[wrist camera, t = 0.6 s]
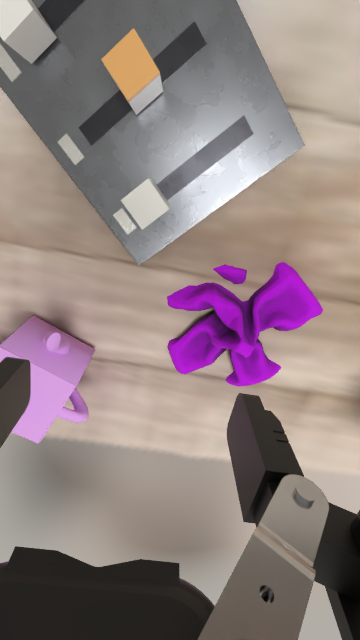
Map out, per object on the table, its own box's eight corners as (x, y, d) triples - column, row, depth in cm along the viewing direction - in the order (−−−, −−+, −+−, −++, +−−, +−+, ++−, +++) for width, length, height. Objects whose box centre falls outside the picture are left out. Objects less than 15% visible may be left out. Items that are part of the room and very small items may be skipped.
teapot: (35, 272, 36) (-15, 302, 27) (136, 331, 39) (123, 377, 30) (-18, 377, 42) (-73, 432, 33) (74, 421, 45) (47, 483, 36)
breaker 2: (152, 178, 30) (148, 178, 25) (170, 205, 31) (169, 209, 26) (128, 198, 30) (120, 200, 26) (147, 223, 31) (142, 229, 27)
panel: (144, -171, 22) (140, -204, 20) (297, 147, 31) (305, 145, 29) (-34, 33, 27) (-51, 21, 25) (141, 261, 35) (138, 265, 33)
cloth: (337, 272, 37) (366, 287, 31) (281, 394, 44) (296, 425, 38) (156, 227, 34) (151, 235, 29) (128, 363, 42) (120, 391, 36)
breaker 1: (30, -2, 24) (-1, -40, 20) (56, 37, 25) (33, 9, 21) (4, 26, 25) (-31, -5, 21) (31, 64, 26) (3, 41, 22)
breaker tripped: (141, 56, 26) (133, 27, 21) (163, 91, 27) (159, 71, 22) (114, 81, 26) (100, 59, 22) (136, 114, 27) (127, 100, 23)
